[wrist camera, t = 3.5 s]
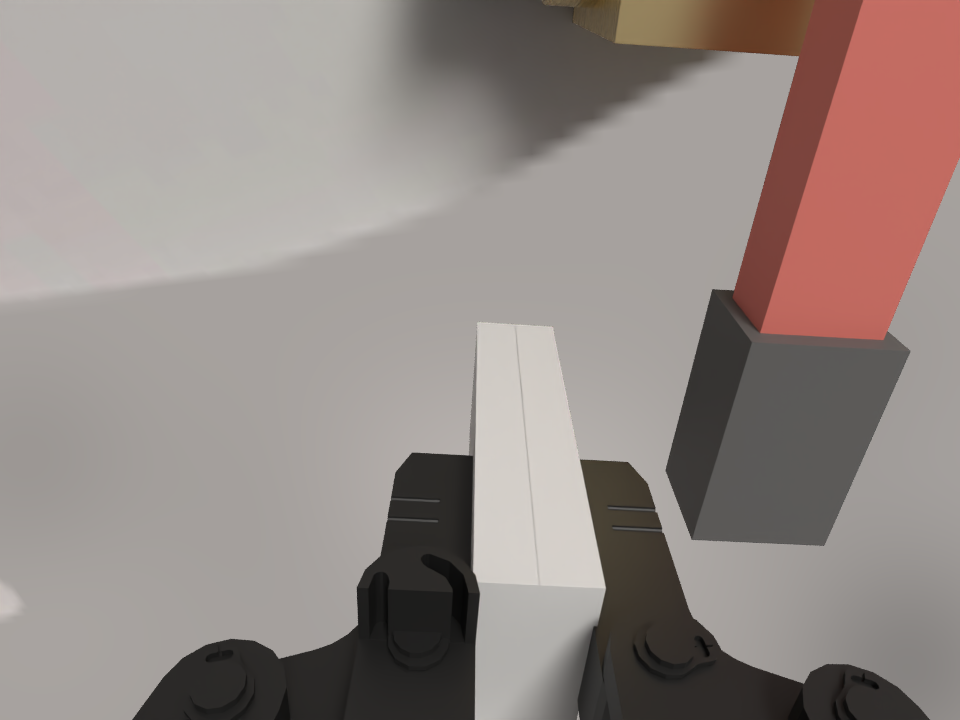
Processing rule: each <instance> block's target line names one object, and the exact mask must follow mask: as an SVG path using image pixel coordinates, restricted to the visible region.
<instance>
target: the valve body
mask: <svg viewBox="0 0 960 720" xmlns="http://www.w3.org/2000/svg"><path fill="white" fill-rule="evenodd" d="M814 2H815V0H542V3H543V4H544V5H554V6H568V7H574V12H573V21H572V22H573V23H575V24H577V25H579V26H581V27H583V28H585V29H587V30H589V31H591V32H593V33H595V34H597V35H599V36H601V37H603V38H605V39H607V40H609V41H611V42H613V43H619V44H633V45H647V46H661V47H676V48H690V49H704V50H718V51H732V52H746V53H762V54H775V55H789V56H800V52H801V49H802V45H803V41H804V38H805V34H806V31H807V27H808V23H809V20H810V16H811V12H812V9H813V5H814Z"/></svg>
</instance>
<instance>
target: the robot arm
mask: <svg viewBox="0 0 960 720" xmlns="http://www.w3.org/2000/svg"><path fill="white" fill-rule="evenodd" d="M357 604H358V626H357V627H355V628H354V629H353V630H352V631H351V632H350V633H349V634H348V635H346V636H344V637H343V638H341V639H340V640H338V641H336V642H334V643H333V644H330V645H327V646H325V647H322V648H319V649H316V650H313V651H309V652H305V653H301V654H297V655H293V656H289V657H285V658H281V659H278V657H277V656H276V654H275V653H274V652H273V650H271V649H269V648H267V647H265V646H263V645H261V644H259V643H257V642H255V641H250V640H238V639H229V640H225V641H220V642H216V643H212V644H208V645H205V646H203V647H202V648H200V649H198V650H196V651H195V652H193V653H191V654H189V655H187V656H186V657H184V658H182V659H181V660H180V661H179V663H177V665H176V666H175V667H173V668H172V669H171V670H170V671H169V672H168V673H167V674H166V675H165V676H164V677H163V679H162V680H161V682H160V683H159V684H158V686H157V687H156V688H155V690H154V691H153V692H152V694H151V695H150V696H149V698H148V699H147V701H146V702H145V703H144V705H143V706H142V707H141V709H140V710H139V711H138V713H137V714H136V715H135V717H134V718H133V720H577V715H578V711H579V717H580V720H930V719H929V718H928V717H927V716H926V715H925V714H924V712H923V711H922V710H921V709H920V708H919V707H918V706H917V705H916V704H915V703H914V702H913V701H912V700H911V699H910V698H909V697H908V696H907V695H905V693H903V692H902V691H901V690H900V689H899V688H898V687H897V686H895V685H893V684H892V683H890V682H888V681H887V680H885V679H883V678H882V677H880V676H878V675H877V674H875V673H873V672H870V671H867V670H864V669H861V668H857V667H855V666H852V665H848V664H847V665H845V664H826V665H824V666H822V667H820V668H818V669H816V670H814V671H812V672H810V674H809V676H808V678H807V679H806V681H805V683H804V684H803V683H800V682H797V681H794V680H791V679H788V678H785V677H781V676H779V675H776V674H773V673H770V672H767V671H763V670H760V669H758V668H755V667H752V666H750V665H747V664H745V663H743V662H740V661H738V660H736V659H734V658H733V657H731V656H729V655H728V654H726V653H725V652H723V651H722V650H721V648H720V646H719V645H718V643H717V641H716V640H715V638H714V636H713V635H712V634H711V633H710V632H709V631H708V630H706V629H705V628H704V627H703V626H702V625H701V624H700V623H699V622H697V620H695V619H693V617H692V615H691V613H690V611H689V609H688V605H687V602H686V599H685V596H684V593H683V590H682V587H681V584H680V581H679V578H678V575H677V572H676V569H675V566H674V563H673V560H672V557H671V554H670V551H669V548H668V545H667V542H666V539H665V535H664V533H662V526H661V523H660V520H659V517H658V514H657V513H656V512H655V505H654V502H653V499H652V496H651V493H650V490H649V487H648V484H647V483H646V481H645V480H644V479H643V478H642V477H641V476H640V475H639V474H638V473H637V472H636V470H635V469H634V468H633V467H632V466H631V465H630V464H629V463H628V462H616V461H597V460H580V459H579V453H578V448H577V443H576V439H575V434H574V429H573V424H572V419H571V414H570V409H569V404H568V399H567V394H566V389H565V384H564V379H563V374H562V370H561V365H560V360H559V355H558V350H557V345H556V340H555V335H554V330H553V327H551V326H536V325H519V324H502V323H485V322H478V323H477V337H476V353H475V366H474V380H473V396H472V410H471V424H470V444H469V456H466V455H448V454H429V453H412V454H411V455H410V456H409V457H408V458H407V459H406V461H405V462H404V463H403V464H402V465H401V467H400V468H399V469H398V470H397V471H396V473H395V479H394V484H393V491H392V496H391V501H390V507H389V512H388V520H387V523H386V529H385V535H384V540H383V547H382V551H381V556H380V557H379V558H378V559H377V560H376V561H375V562H373V563H372V564H371V565H370V566H369V567H368V568H367V569H366V570H365V571H364V573H363V576H362V578H361V580H360V582H359V584H358V586H357Z"/></svg>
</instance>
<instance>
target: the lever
mask: <svg viewBox="0 0 960 720" xmlns="http://www.w3.org/2000/svg"><path fill="white" fill-rule="evenodd" d="M959 158H960V0H815V2H814V5H813V9H812V12H811V16H810V20H809V23H808V27H807V31H806V34H805V38H804V41H803V45H802V49H801V52H800V56H799V59H798V63H797V67H796V70H795V74H794V77H793V81H792V85H791V88H790V92H789V96H788V99H787V103H786V106H785V110H784V114H783V117H782V121H781V124H780V128H779V132H778V135H777V139H776V142H775V146H774V150H773V153H772V157H771V160H770V164H769V168H768V171H767V175H766V178H765V182H764V185H763V189H762V193H761V197H760V200H759V203H758V207H757V211H756V215H755V218H754V221H753V225H752V229H751V232H750V236H749V239H748V243H747V247H746V250H745V254H744V257H743V261H742V265H741V268H740V272H739V276H738V279H737V283H736V286H735V290H734V291H732V290H715V289H713V290H712V293H711V297H710V301H709V305H708V308H707V312H706V317H705V320H704V324H703V328H702V332H701V335H700V339H699V343H698V347H697V351H696V355H695V359H694V362H693V366H692V370H691V374H690V378H689V382H688V386H687V390H686V394H685V397H684V401H683V405H682V409H681V413H680V416H679V421H678V424H677V428H676V432H675V436H674V440H673V443H672V448H671V451H670V455H669V459H668V463H667V466H666V473H667V475H668V478H669V481H670V483H671V486H672V489H673V491H674V494H675V497H676V499H677V502H678V504H679V507H680V510H681V512H682V515H683V518H684V520H685V523H686V525H687V528H688V531H689V533H690V536H691V539H692V540H709V541H711V540H712V541H731V542H732V541H733V542H753V543H777V544H799V545H820V546H824V545H825V543H826V540H827V538H828V536H829V534H830V531H831V529H832V527H833V524H834V523H835V520H836V518H837V516H838V514H839V511H840V509H841V507H842V504H843V502H844V500H845V498H846V495H847V493H848V491H849V489H850V486H851V484H852V482H853V480H854V477H855V475H856V473H857V471H858V468H859V466H860V464H861V462H862V459H863V457H864V455H865V452H866V450H867V448H868V446H869V444H870V441H871V439H872V437H873V435H874V432H875V430H876V428H877V426H878V423H879V421H880V419H881V417H882V414H883V412H884V410H885V408H886V405H887V403H888V401H889V398H890V396H891V394H892V392H893V389H894V387H895V385H896V383H897V381H898V378H899V376H900V374H901V371H902V369H903V367H904V365H905V363H906V360H907V358H908V356H909V354H910V350H909V349H908V348H906V347H905V346H904V345H903V344H902V343H901V342H899V341H898V340H897V339H896V338H895V337H894V336H892V335H891V334H890V333H889V332H888V331H887V330H888V328H889V326H890V323H891V321H892V318H893V316H894V314H895V311H896V309H897V306H898V304H899V302H900V299H901V297H902V294H903V292H904V290H905V287H906V285H907V282H908V280H909V278H910V275H911V273H912V270H913V268H914V266H915V263H916V261H917V258H918V256H919V253H920V251H921V249H922V246H923V244H924V242H925V239H926V237H927V234H928V232H929V229H930V227H931V225H932V222H933V220H934V218H935V215H936V213H937V210H938V208H939V205H940V203H941V201H942V198H943V196H944V194H945V191H946V189H947V186H948V184H949V182H950V179H951V177H952V174H953V172H954V170H955V167H956V165H957V162H958V160H959Z"/></svg>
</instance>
